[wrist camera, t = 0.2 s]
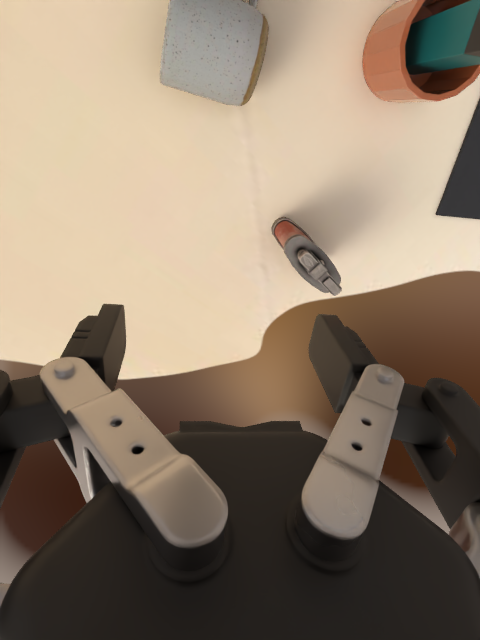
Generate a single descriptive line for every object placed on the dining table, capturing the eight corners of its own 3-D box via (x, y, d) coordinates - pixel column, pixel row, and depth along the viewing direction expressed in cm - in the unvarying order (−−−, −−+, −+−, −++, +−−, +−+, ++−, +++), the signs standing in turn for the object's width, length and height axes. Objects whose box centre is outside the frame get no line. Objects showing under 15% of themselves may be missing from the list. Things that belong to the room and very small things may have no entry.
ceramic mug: (242, 111, 36) (253, 110, 30) (161, 86, 34) (154, 78, 28) (273, -23, 31) (294, -61, 25) (181, -61, 30) (178, -112, 23)
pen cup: (376, -9, 33) (421, -38, 26) (456, 7, 34) (518, -17, 27) (352, 96, 37) (386, 93, 30) (424, 106, 38) (471, 106, 31)
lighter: (265, 231, 43) (282, 261, 34) (285, 210, 42) (309, 236, 33) (306, 272, 46) (331, 309, 38) (326, 254, 45) (356, 288, 37)
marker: (395, 29, 34) (505, -15, 22) (425, 35, 34) (550, -5, 22) (385, 70, 35) (482, 50, 23) (414, 75, 36) (524, 57, 24)
